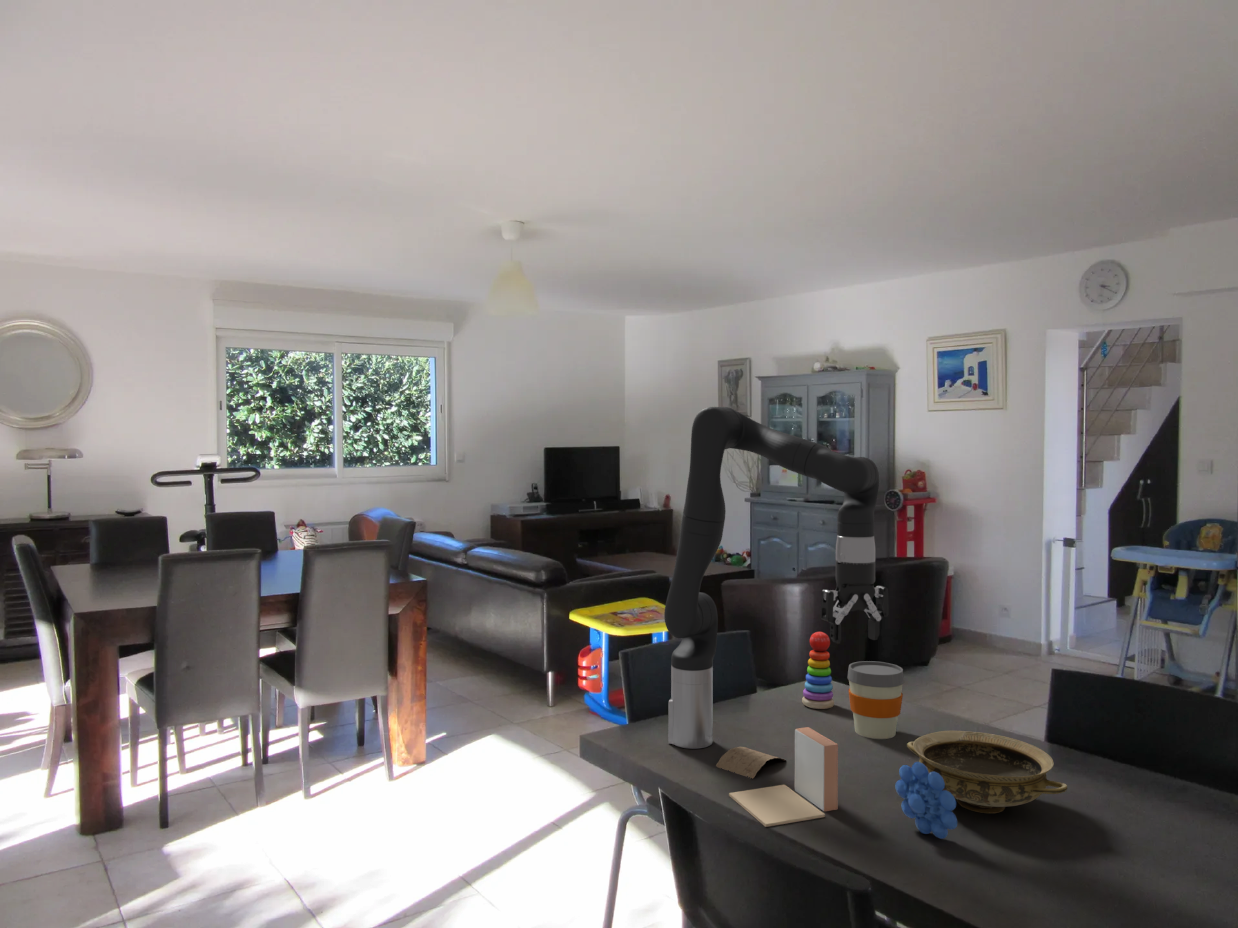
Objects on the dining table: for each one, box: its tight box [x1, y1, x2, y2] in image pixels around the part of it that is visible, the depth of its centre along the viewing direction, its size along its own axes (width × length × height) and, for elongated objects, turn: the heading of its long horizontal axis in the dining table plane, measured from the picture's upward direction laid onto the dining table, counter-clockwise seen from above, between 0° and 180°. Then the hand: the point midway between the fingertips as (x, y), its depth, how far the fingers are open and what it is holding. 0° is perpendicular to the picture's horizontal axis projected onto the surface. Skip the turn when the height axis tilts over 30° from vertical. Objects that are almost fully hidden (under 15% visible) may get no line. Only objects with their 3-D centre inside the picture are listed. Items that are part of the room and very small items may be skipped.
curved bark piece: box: [715, 746, 787, 779], centre depth 178 cm, size 14×10×3 cm
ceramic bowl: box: [906, 730, 1068, 814], centre depth 158 cm, size 30×24×10 cm
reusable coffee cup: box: [847, 660, 905, 740], centre depth 197 cm, size 13×13×15 cm
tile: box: [794, 726, 839, 813], centre depth 160 cm, size 3×10×12 cm, turn 20°
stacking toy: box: [801, 631, 835, 710], centre depth 217 cm, size 8×8×19 cm
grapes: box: [894, 761, 958, 840], centre depth 145 cm, size 12×7×12 cm, turn 37°
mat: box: [728, 784, 826, 828], centre depth 157 cm, size 12×14×1 cm
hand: (854, 640), depth 168 cm, fingers open, 8 cm apart
